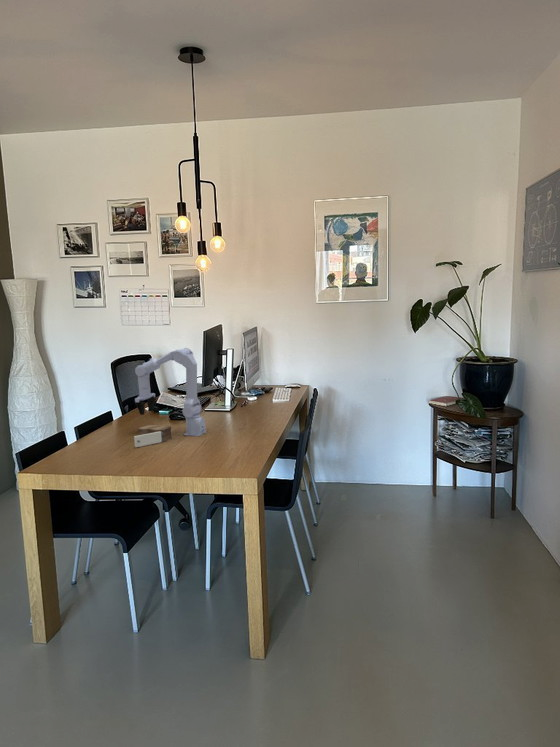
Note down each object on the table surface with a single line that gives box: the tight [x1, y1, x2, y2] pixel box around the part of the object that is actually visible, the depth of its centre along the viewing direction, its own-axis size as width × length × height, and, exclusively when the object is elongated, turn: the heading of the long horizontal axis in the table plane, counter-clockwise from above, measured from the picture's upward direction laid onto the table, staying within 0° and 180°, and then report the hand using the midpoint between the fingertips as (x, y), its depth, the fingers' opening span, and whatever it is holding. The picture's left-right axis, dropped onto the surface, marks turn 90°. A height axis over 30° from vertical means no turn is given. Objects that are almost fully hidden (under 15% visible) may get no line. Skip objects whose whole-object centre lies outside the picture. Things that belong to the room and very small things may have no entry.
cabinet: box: [137, 424, 172, 443], centre depth 260 cm, size 15×7×6 cm, turn 69°
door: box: [133, 431, 163, 448], centre depth 250 cm, size 14×2×5 cm, turn 124°
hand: (146, 412), depth 275 cm, fingers open, 7 cm apart
